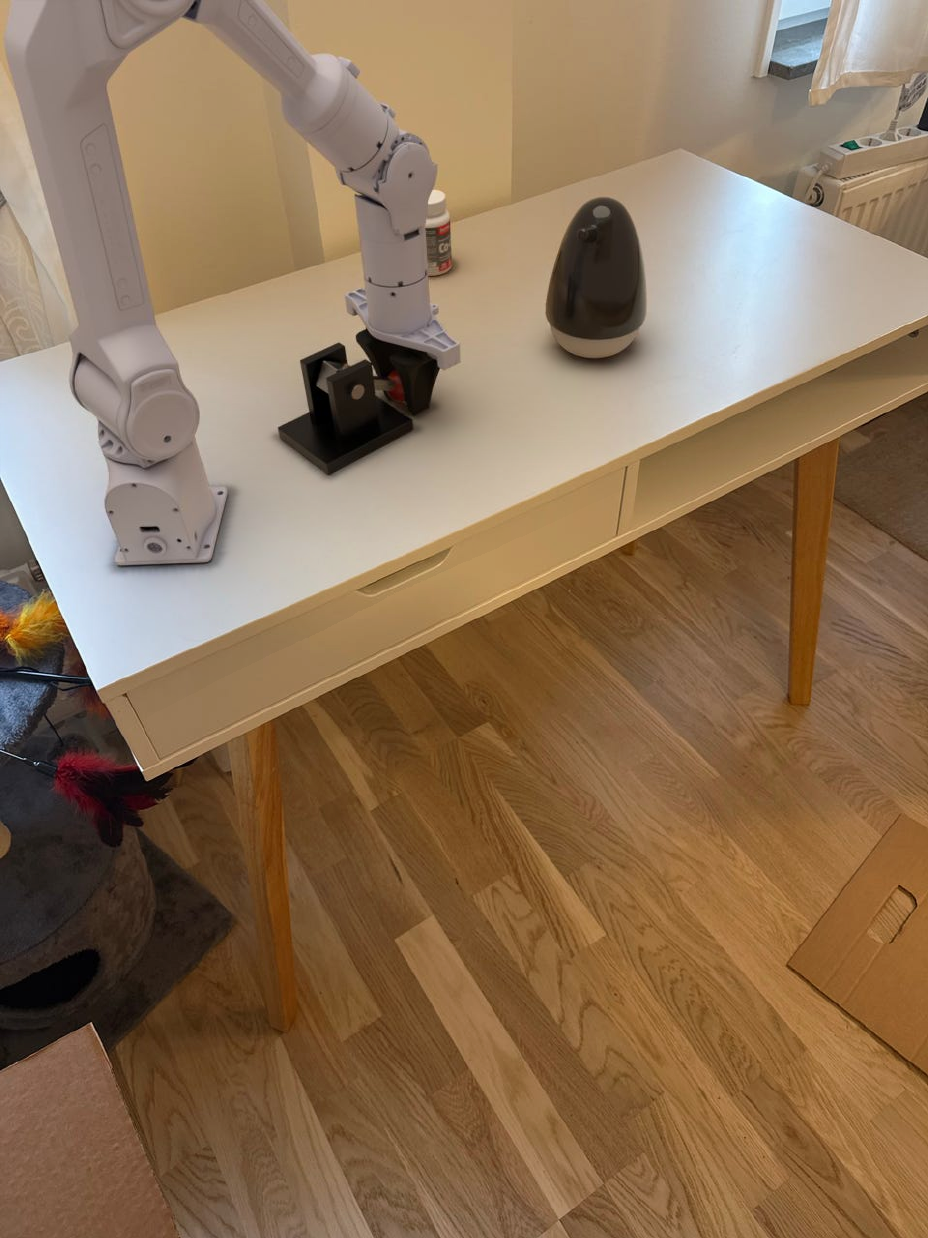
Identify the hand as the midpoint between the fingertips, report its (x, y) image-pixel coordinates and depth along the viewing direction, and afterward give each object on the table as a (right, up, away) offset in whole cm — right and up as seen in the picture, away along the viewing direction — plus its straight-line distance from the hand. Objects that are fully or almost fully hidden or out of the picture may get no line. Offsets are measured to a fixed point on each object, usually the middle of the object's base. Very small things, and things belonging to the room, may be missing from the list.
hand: (407, 403), depth 92 cm
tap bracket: (-6, -4, -3) cm, 8 cm away
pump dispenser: (+19, +7, +6) cm, 21 cm away
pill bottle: (+2, +21, +19) cm, 28 cm away
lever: (-4, 0, -4) cm, 5 cm away
